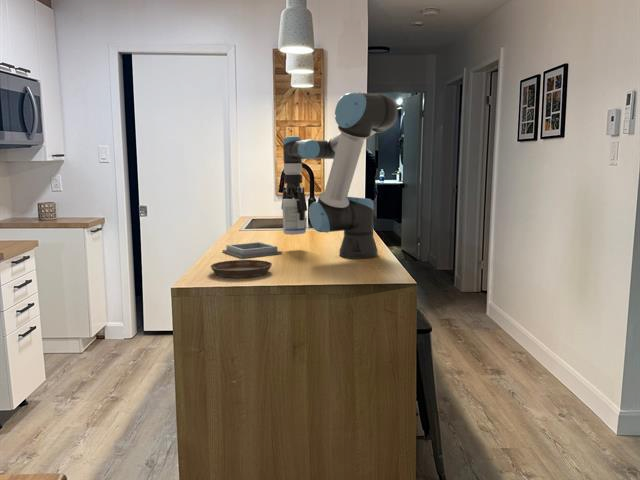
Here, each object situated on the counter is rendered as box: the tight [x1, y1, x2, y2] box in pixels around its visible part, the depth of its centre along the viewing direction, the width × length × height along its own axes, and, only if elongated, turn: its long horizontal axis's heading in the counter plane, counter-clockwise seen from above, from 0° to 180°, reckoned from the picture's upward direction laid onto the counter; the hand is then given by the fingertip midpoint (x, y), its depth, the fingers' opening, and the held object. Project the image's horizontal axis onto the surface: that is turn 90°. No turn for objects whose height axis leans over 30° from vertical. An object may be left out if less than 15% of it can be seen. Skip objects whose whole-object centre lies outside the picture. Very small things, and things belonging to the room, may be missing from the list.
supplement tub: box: [281, 198, 307, 236], centre depth 237 cm, size 10×10×15 cm
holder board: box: [222, 241, 283, 260], centre depth 230 cm, size 18×18×3 cm
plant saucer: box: [210, 259, 273, 279], centre depth 191 cm, size 21×21×3 cm
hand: (294, 227), depth 238 cm, fingers closed on supplement tub, 10 cm apart
